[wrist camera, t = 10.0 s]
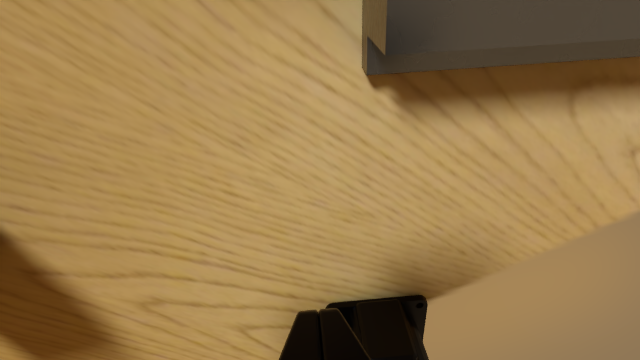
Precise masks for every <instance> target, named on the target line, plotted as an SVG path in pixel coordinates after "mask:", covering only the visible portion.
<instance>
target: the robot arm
mask: <svg viewBox="0 0 640 360" xmlns="http://www.w3.org/2000/svg"><path fill="white" fill-rule="evenodd" d="M426 312H427V301H426V298H425V297H424V296H422V295H416V296H405V297H394V298H383V299H372V300H362V301H351V302H340V303H331V304H329V305H327V307H326V309H321V310H320V311H319V313H318V312H317V311H316V310H307V311H300V312H298V314H297V316H296V318H295V321H294V323H293V326H292V328H291V330H290V333H289V335H288V338H287V340H286V343H285V345H284V348H283V350H282V353H281V355H280V358H279V360H429V359H428V356H427V353H426V350H425V348H424V345H423V334H424V326H425V319H426ZM318 314H319V316H318Z"/></svg>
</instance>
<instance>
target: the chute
mask: <svg viewBox="0 0 640 360" xmlns="http://www.w3.org/2000/svg"><path fill="white" fill-rule="evenodd" d="M639 56H640V0H363V5H362V68H363V70H364V72H365V73H366V75H376V74H391V73H405V72H420V71H434V70H449V69H464V68H478V67H493V66H507V65H522V64H537V63H551V62H566V61H580V60H595V59H609V58H624V57H639Z"/></svg>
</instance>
